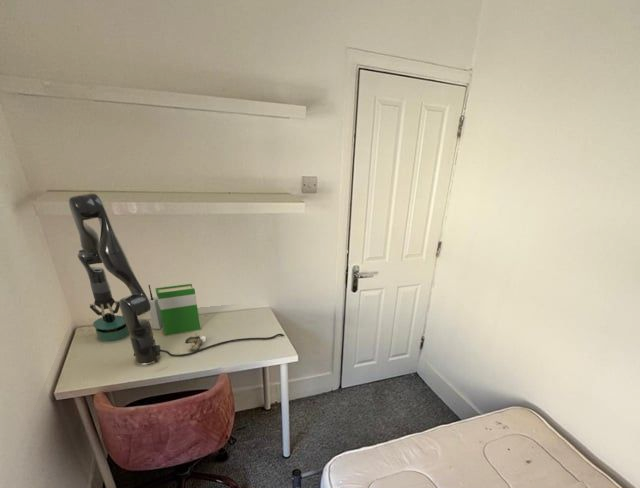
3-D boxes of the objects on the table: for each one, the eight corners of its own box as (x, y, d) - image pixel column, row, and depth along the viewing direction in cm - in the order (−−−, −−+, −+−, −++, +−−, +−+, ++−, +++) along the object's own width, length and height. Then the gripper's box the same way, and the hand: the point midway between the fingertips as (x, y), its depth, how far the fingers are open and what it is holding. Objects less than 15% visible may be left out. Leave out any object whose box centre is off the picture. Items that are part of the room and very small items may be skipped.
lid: (128, 316, 206) (126, 306, 203) (125, 329, 195) (122, 319, 192) (96, 318, 201) (93, 308, 198) (91, 332, 190) (87, 321, 187)
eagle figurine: (191, 339, 202) (181, 344, 194) (198, 329, 200) (188, 334, 192) (203, 348, 203) (193, 354, 195) (210, 339, 201) (200, 344, 192)
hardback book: (197, 323, 220) (191, 283, 207) (200, 329, 215) (194, 288, 202) (163, 329, 211) (155, 288, 199) (166, 335, 206) (157, 293, 194)
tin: (131, 328, 210) (129, 319, 207) (128, 340, 198) (125, 331, 196) (101, 330, 205) (98, 321, 202) (96, 343, 194) (93, 334, 191)
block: (118, 332, 204) (116, 325, 202) (118, 335, 201) (116, 329, 199) (109, 333, 202) (107, 327, 200) (109, 337, 199) (107, 330, 197)
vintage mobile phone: (163, 325, 215) (155, 282, 202) (160, 329, 211) (151, 286, 198) (157, 324, 215) (147, 282, 202) (153, 329, 211) (143, 286, 198)
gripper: (84, 294, 182) (94, 326, 191) (118, 290, 189) (126, 322, 198) (84, 288, 187) (93, 320, 196) (117, 284, 194) (125, 315, 203)
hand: (109, 320), depth 197 cm, fingers closed on lid, 2 cm apart
